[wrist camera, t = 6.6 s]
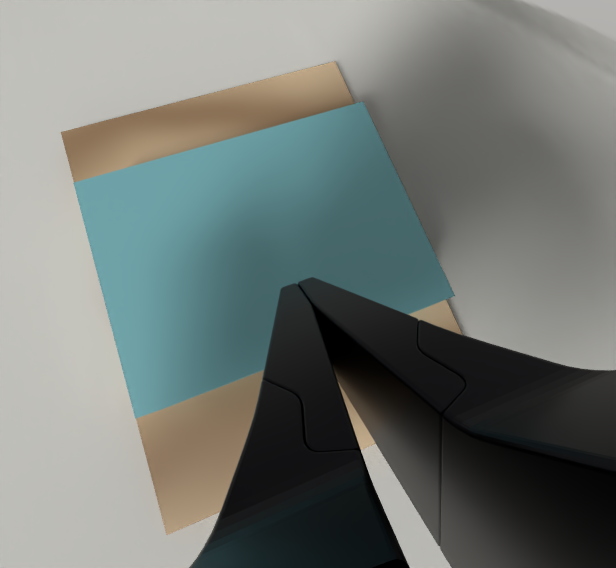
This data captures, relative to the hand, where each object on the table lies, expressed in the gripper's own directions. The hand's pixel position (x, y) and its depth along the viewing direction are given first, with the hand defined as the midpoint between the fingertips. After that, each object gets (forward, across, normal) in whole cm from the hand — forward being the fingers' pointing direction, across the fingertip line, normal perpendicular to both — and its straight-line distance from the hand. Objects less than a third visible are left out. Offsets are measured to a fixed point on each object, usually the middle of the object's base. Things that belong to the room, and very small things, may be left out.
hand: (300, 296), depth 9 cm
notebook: (+3, 0, +5) cm, 5 cm away
